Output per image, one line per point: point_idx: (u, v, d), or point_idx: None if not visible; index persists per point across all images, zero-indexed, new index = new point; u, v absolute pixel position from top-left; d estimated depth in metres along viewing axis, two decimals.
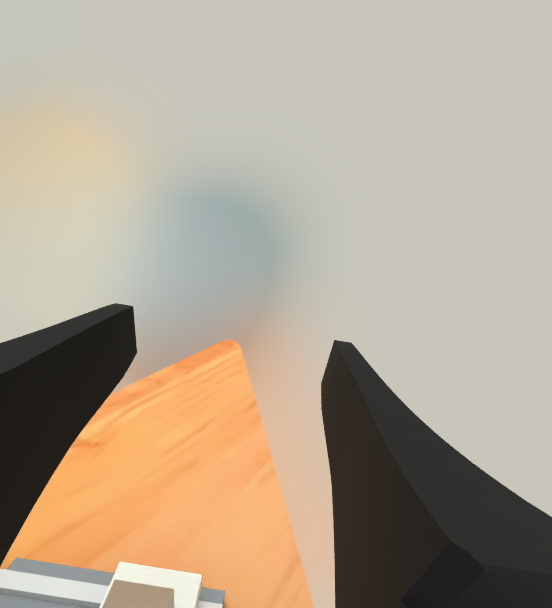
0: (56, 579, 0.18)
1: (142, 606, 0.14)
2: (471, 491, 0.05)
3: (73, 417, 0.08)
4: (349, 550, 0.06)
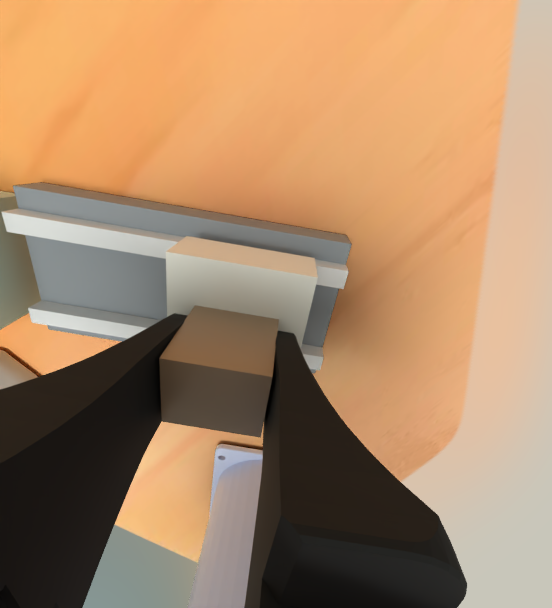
0: (91, 229, 0.12)
1: (224, 391, 0.08)
2: (343, 470, 0.04)
3: (146, 429, 0.08)
4: (256, 535, 0.06)
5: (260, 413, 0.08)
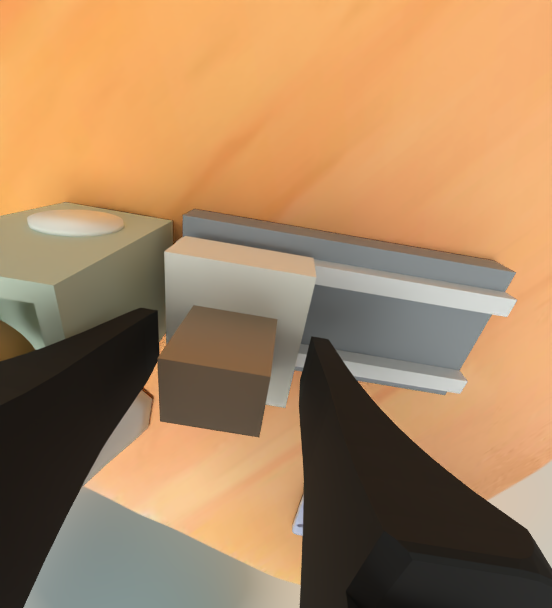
0: None
1: (223, 391, 0.08)
2: (420, 483, 0.05)
3: (104, 422, 0.08)
4: (312, 544, 0.06)
5: (258, 413, 0.08)
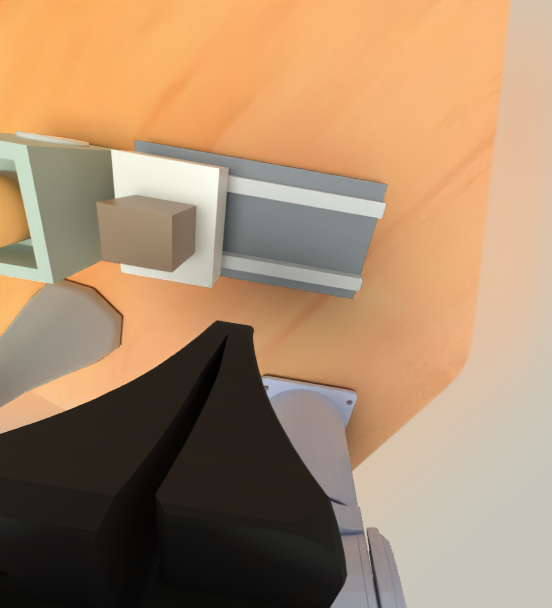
0: None
1: (142, 230, 0.12)
2: (248, 455, 0.04)
3: None
4: None
5: (168, 249, 0.12)
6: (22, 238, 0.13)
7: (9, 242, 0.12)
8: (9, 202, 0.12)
